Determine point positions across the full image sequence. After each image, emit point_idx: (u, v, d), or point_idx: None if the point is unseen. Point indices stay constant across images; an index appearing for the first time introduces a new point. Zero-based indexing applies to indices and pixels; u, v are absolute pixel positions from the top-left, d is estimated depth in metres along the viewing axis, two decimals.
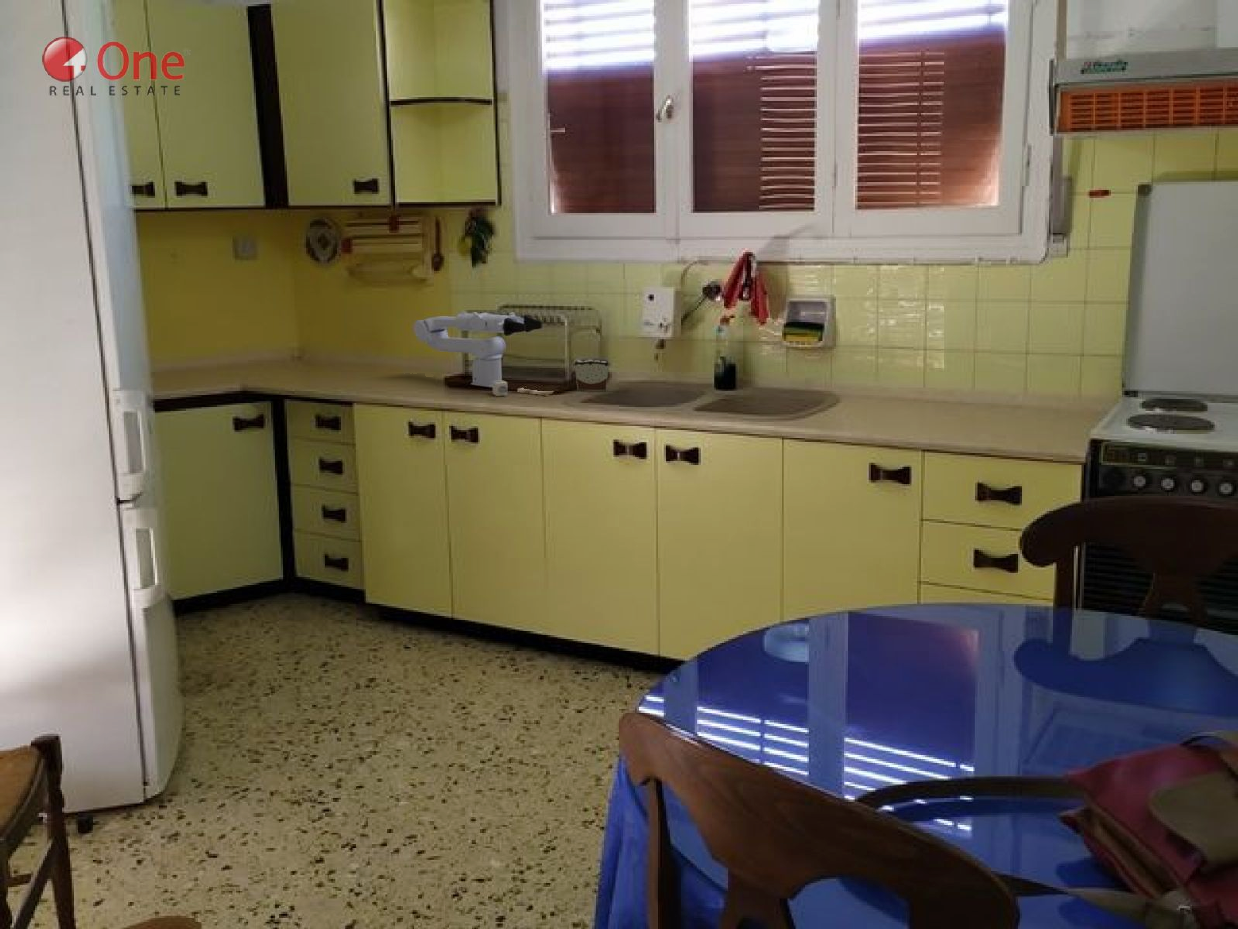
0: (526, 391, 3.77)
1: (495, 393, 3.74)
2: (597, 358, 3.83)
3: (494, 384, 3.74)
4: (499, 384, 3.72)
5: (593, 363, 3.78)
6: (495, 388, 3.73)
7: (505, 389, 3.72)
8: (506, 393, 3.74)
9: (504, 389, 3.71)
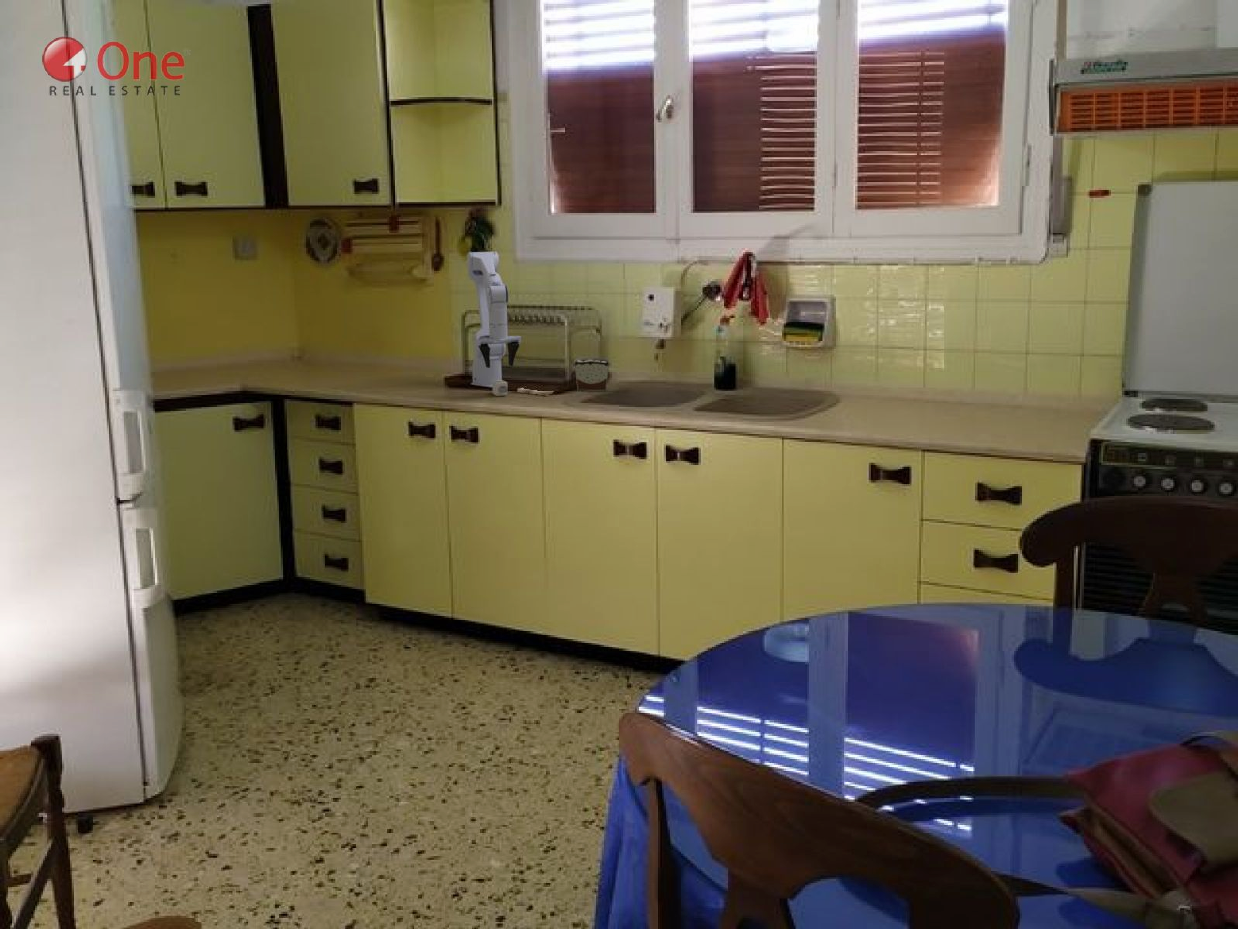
0: (526, 391, 3.77)
1: (495, 393, 3.74)
2: (597, 358, 3.83)
3: (494, 384, 3.74)
4: (499, 384, 3.72)
5: (593, 363, 3.78)
6: (495, 388, 3.73)
7: (505, 389, 3.72)
8: (506, 393, 3.74)
9: (504, 389, 3.71)
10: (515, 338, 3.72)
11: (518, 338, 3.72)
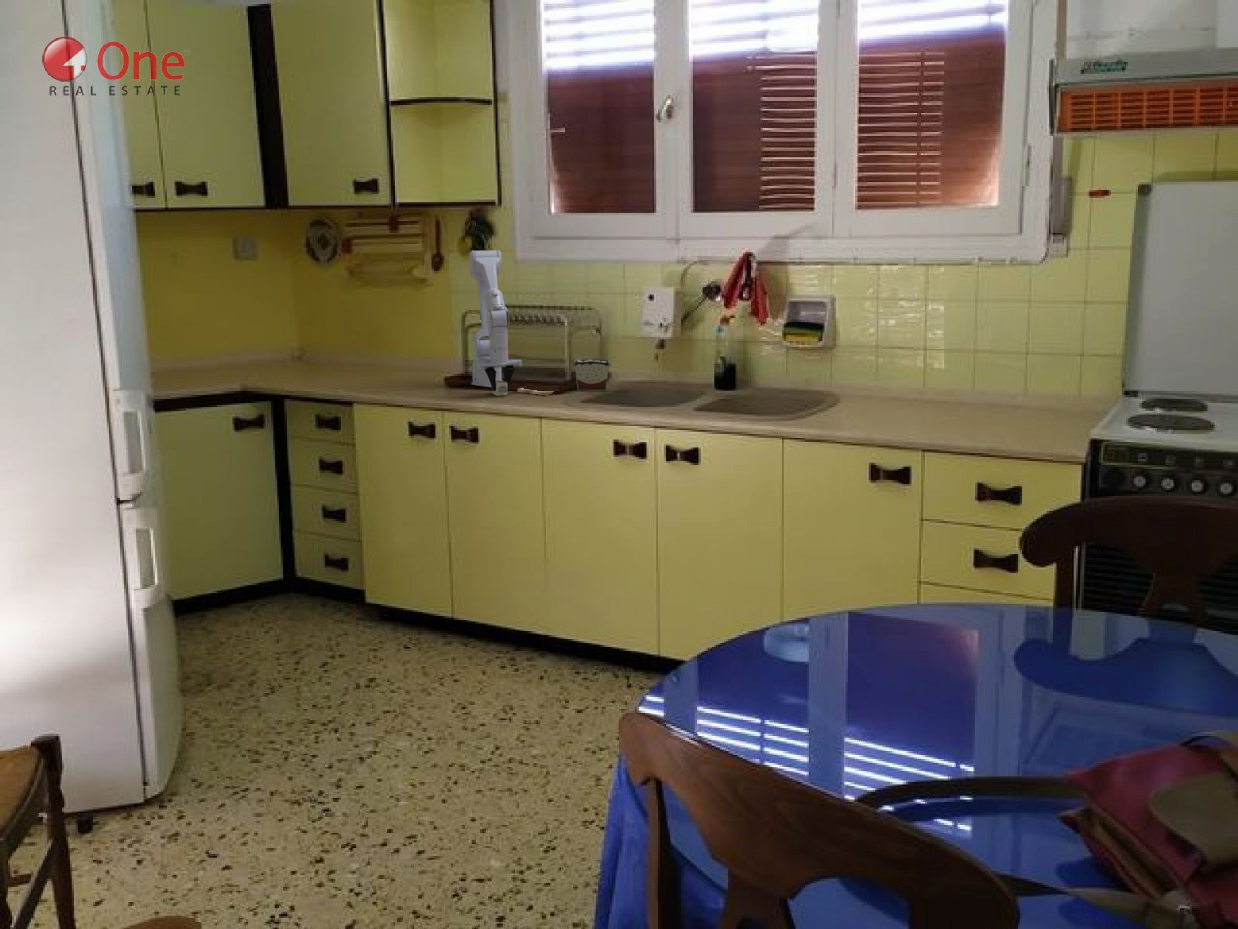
0: (526, 391, 3.77)
1: (495, 393, 3.74)
2: (597, 358, 3.83)
3: None
4: (499, 384, 3.72)
5: (593, 363, 3.78)
6: None
7: (505, 389, 3.72)
8: (506, 393, 3.74)
9: (504, 389, 3.71)
10: (516, 362, 3.74)
11: (519, 362, 3.74)
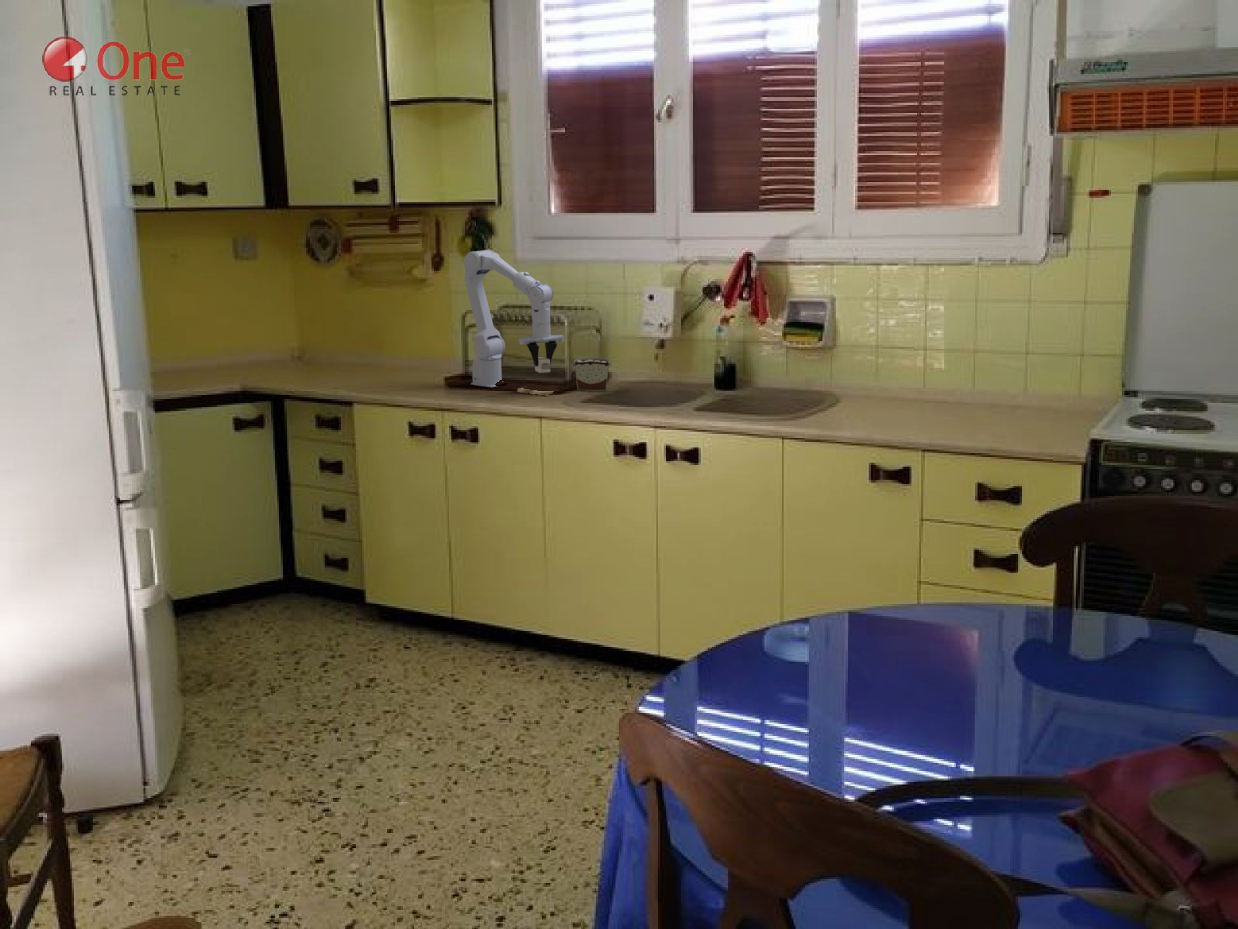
0: (526, 391, 3.77)
1: (538, 370, 3.77)
2: (597, 358, 3.83)
3: None
4: (542, 361, 3.75)
5: (593, 363, 3.78)
6: (538, 365, 3.76)
7: (548, 366, 3.74)
8: (549, 370, 3.77)
9: (547, 366, 3.74)
10: (558, 337, 3.76)
11: (561, 337, 3.77)
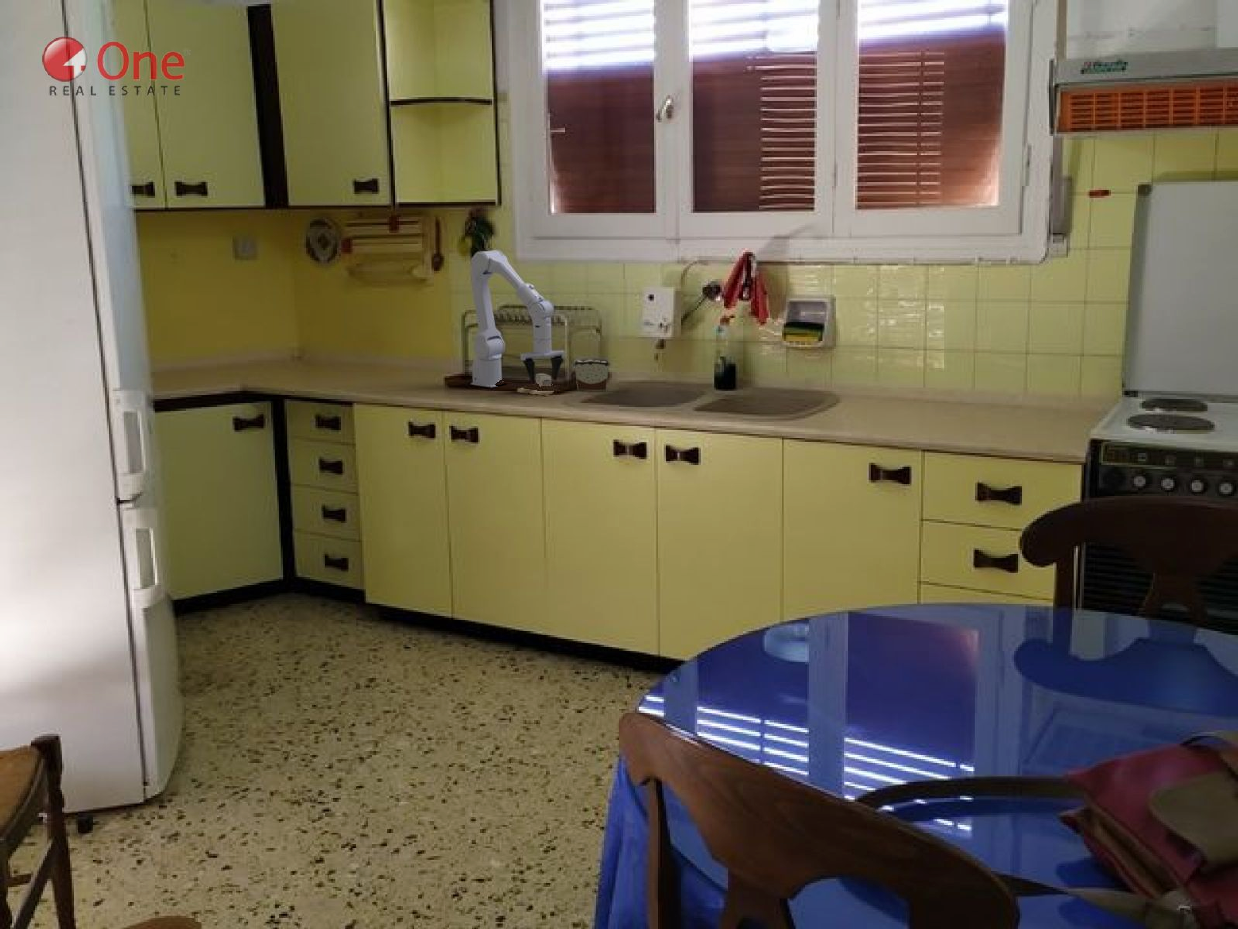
0: (526, 391, 3.77)
1: None
2: (597, 358, 3.83)
3: (538, 378, 3.78)
4: (543, 377, 3.77)
5: (593, 363, 3.78)
6: (539, 381, 3.78)
7: (549, 382, 3.76)
8: None
9: (548, 382, 3.76)
10: (559, 353, 3.78)
11: (562, 353, 3.79)
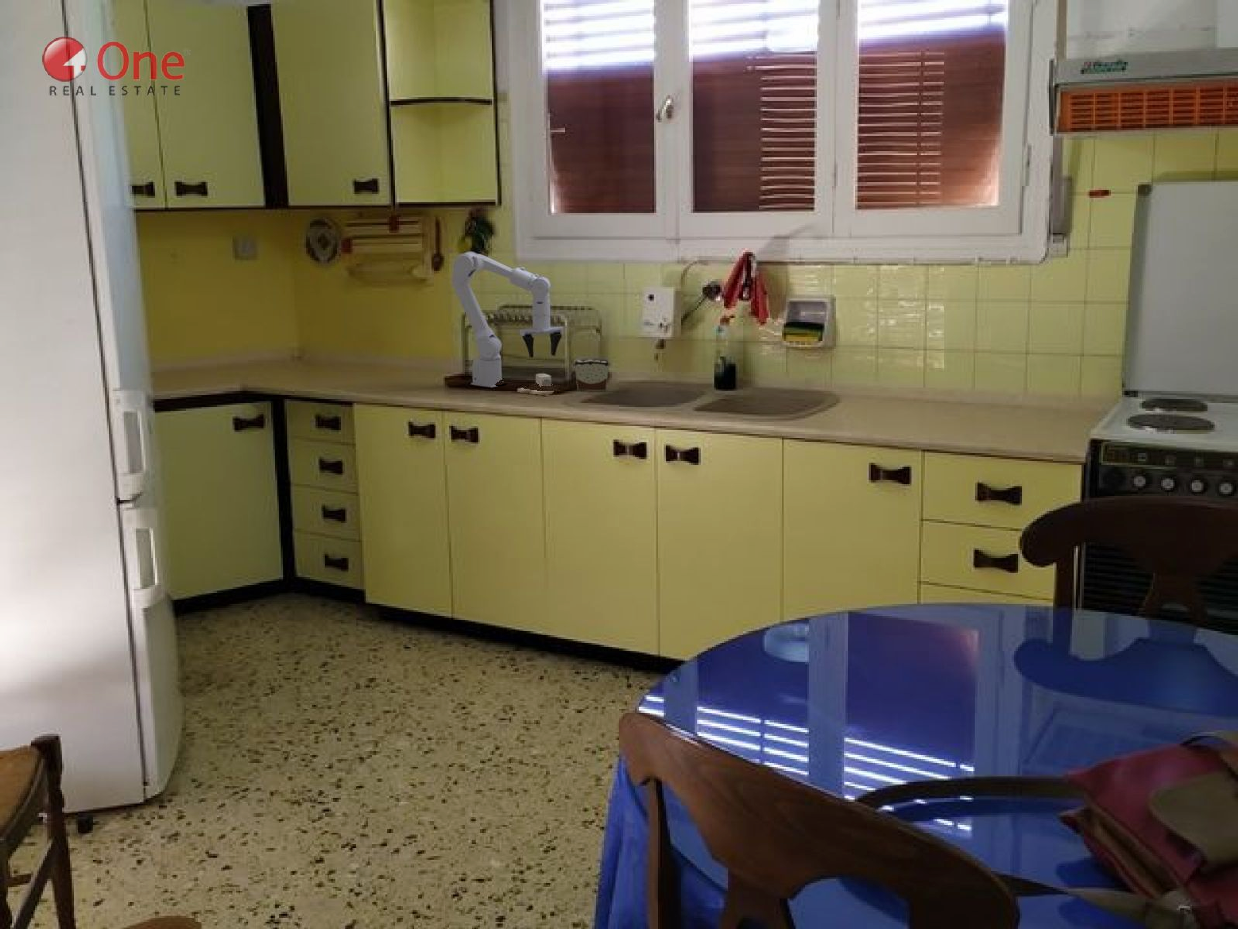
0: (526, 391, 3.77)
1: None
2: (597, 358, 3.83)
3: (538, 378, 3.78)
4: (543, 377, 3.77)
5: (593, 363, 3.78)
6: (539, 381, 3.78)
7: (549, 382, 3.76)
8: None
9: (548, 382, 3.76)
10: (558, 329, 3.85)
11: (560, 329, 3.85)
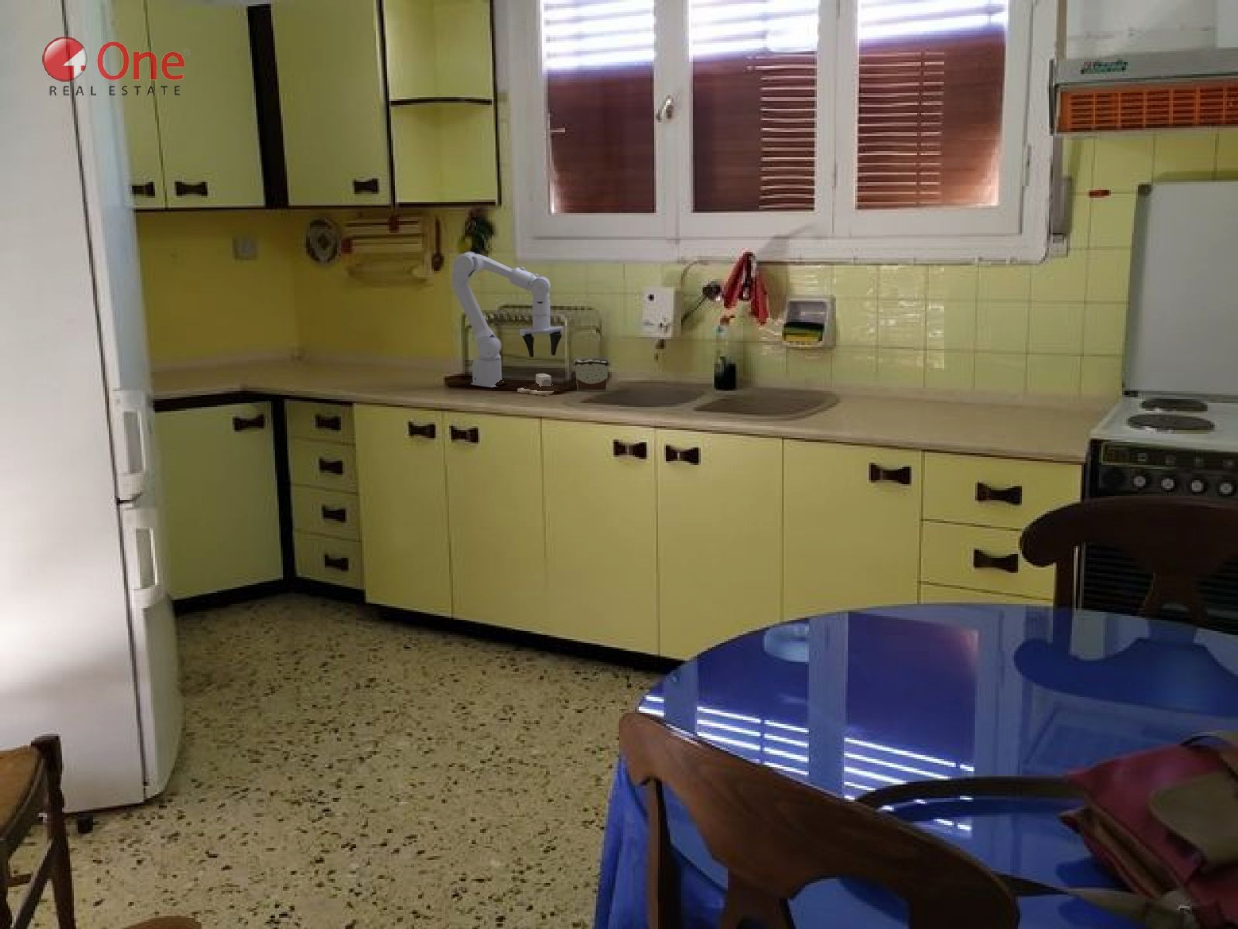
0: (526, 391, 3.77)
1: None
2: (597, 358, 3.83)
3: (538, 378, 3.78)
4: (543, 377, 3.77)
5: (593, 363, 3.78)
6: (539, 381, 3.78)
7: (549, 382, 3.76)
8: None
9: (548, 382, 3.76)
10: (558, 328, 3.85)
11: (560, 328, 3.86)
